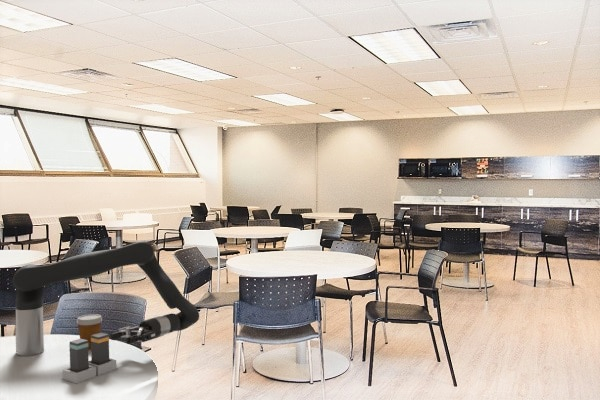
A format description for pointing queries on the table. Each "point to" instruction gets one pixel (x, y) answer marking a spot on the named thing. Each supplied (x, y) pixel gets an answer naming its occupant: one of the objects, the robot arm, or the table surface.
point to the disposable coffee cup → (89, 326)
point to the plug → (100, 348)
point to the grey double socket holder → (89, 372)
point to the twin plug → (79, 355)
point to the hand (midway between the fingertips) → (119, 339)
